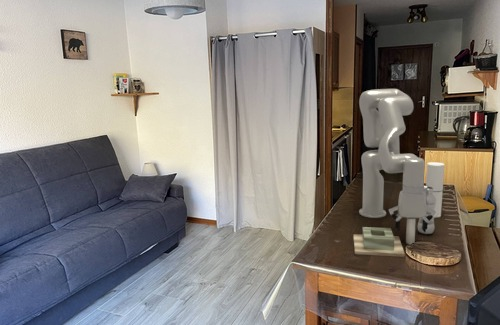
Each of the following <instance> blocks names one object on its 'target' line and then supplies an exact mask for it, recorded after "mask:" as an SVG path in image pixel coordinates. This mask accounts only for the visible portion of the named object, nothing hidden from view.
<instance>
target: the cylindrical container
mask: <svg viewBox="0 0 500 325" xmlns="http://www.w3.org/2000/svg"><path fill="white" fill-rule="evenodd" d="M444 174H445V163H444V162H439V161H438V162H437V161H429V162H427V163H426V177H425V178H426V179H425V186H427V187H433V195H434V196H435V198H436V205H435V209H434V210H435V211H436V213H435V215H434V219H435V218H440V217H441V216H442V206H443V205H442V203H443V192H444V191H443V188H444V176H445V175H444Z"/></svg>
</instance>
